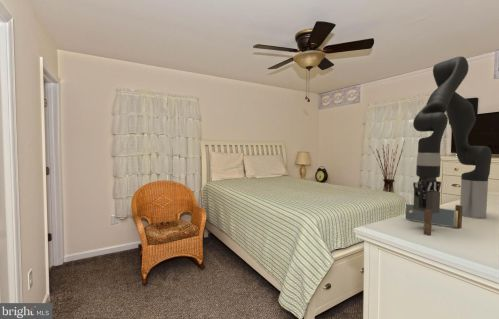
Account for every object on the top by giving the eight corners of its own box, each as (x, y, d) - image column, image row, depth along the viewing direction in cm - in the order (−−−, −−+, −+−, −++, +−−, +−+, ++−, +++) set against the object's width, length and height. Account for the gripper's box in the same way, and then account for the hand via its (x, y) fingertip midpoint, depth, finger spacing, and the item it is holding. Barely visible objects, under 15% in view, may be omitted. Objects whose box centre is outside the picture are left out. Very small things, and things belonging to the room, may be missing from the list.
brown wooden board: (456, 226, 98) (457, 204, 98) (461, 227, 97) (462, 205, 96) (423, 234, 90) (424, 210, 89) (428, 235, 88) (429, 211, 88)
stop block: (420, 208, 99) (421, 188, 99) (439, 212, 93) (440, 191, 92) (413, 209, 98) (414, 189, 97) (432, 213, 91) (433, 192, 91)
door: (457, 226, 97) (458, 210, 96) (457, 228, 95) (458, 212, 94) (406, 218, 108) (406, 203, 108) (405, 219, 106) (405, 204, 106)
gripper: (426, 165, 88) (424, 211, 89) (450, 164, 94) (448, 208, 94) (406, 164, 95) (404, 207, 96) (429, 163, 101) (427, 204, 101)
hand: (426, 207), depth 95 cm, fingers closed on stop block, 4 cm apart
